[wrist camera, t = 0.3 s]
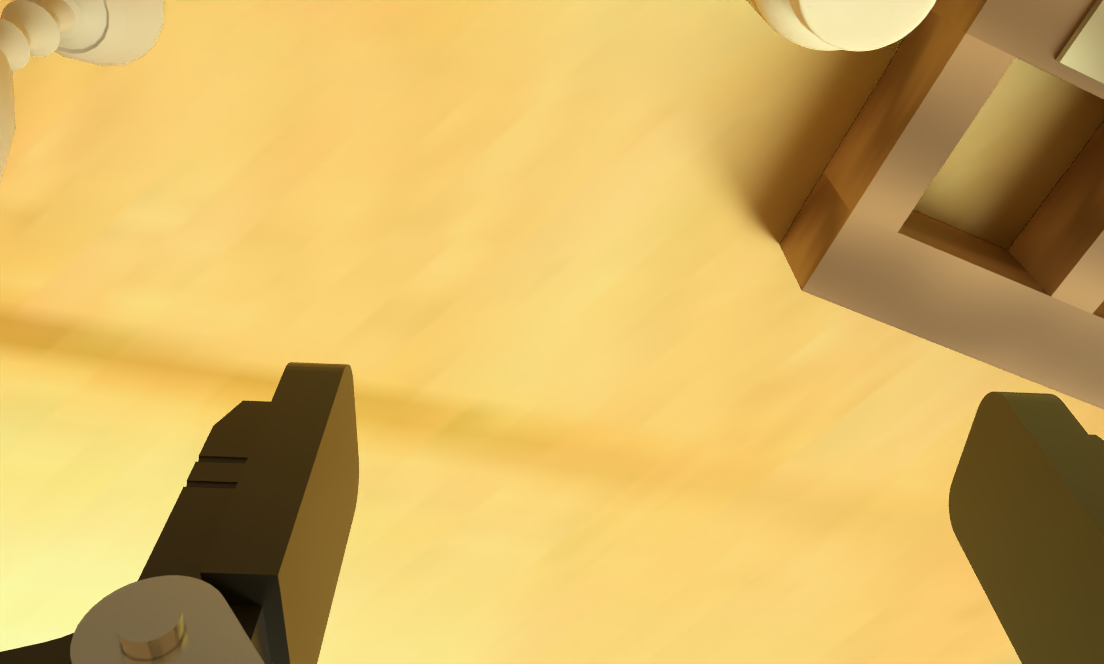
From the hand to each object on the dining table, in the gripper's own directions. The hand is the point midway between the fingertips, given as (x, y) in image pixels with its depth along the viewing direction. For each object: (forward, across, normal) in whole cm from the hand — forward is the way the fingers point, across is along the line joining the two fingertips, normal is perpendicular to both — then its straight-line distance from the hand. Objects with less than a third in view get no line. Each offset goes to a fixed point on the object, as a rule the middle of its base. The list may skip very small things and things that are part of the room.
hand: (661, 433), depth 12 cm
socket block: (+26, -21, +7) cm, 34 cm away
